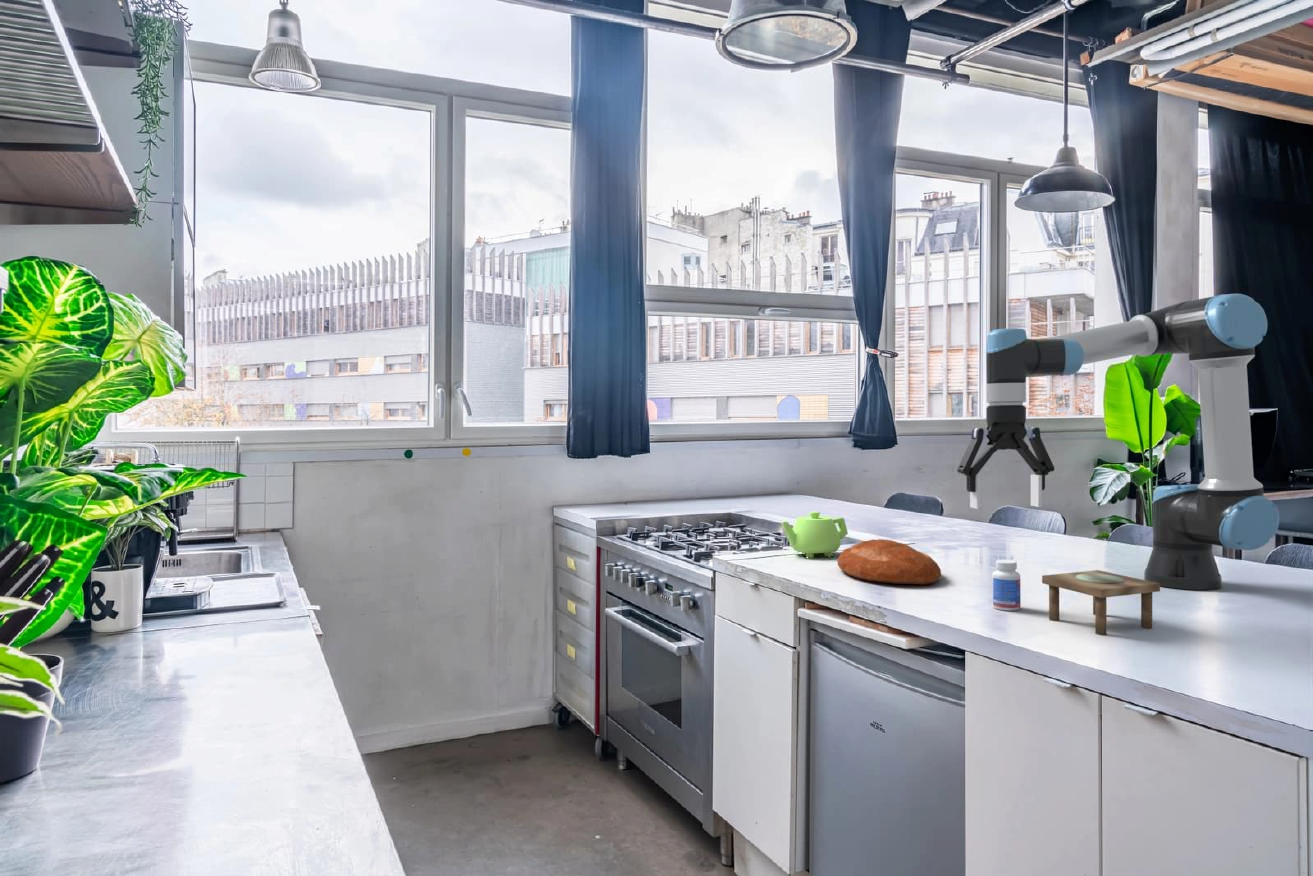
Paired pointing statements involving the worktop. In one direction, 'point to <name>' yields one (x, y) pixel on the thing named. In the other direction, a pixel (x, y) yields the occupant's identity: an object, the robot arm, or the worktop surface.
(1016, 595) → the pill bottle
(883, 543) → the bread
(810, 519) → the teapot
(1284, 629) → the worktop surface
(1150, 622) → the small wooden table
